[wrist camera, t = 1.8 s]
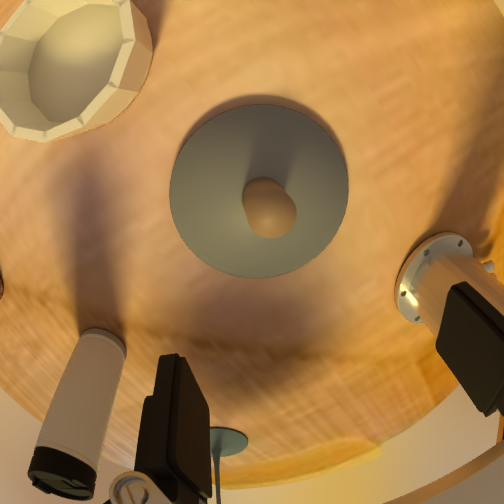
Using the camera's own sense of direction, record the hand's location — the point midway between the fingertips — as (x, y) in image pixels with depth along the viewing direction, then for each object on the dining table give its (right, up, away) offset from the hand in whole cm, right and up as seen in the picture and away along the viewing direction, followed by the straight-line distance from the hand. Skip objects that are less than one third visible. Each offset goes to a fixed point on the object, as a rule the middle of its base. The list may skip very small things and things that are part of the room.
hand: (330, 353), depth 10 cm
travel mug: (-21, -8, +24) cm, 33 cm away
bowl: (-17, +20, +11) cm, 28 cm away
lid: (-2, +9, +18) cm, 20 cm away
